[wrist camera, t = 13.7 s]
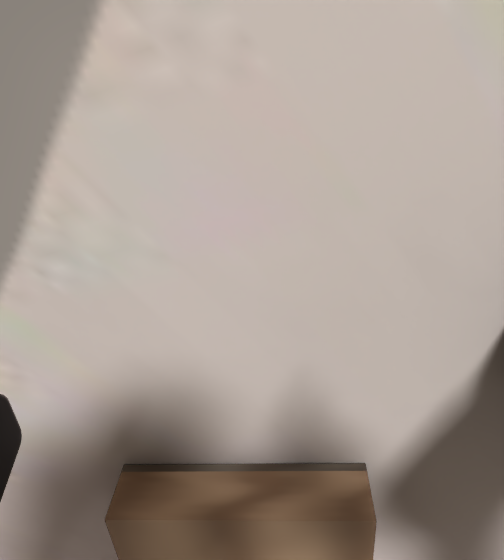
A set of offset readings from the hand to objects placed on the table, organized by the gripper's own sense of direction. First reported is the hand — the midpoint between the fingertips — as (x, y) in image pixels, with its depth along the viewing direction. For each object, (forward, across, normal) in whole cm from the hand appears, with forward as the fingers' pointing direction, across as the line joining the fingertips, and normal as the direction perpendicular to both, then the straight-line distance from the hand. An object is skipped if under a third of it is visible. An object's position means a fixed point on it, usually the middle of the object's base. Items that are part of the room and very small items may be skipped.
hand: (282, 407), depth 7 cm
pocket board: (+13, +3, +24) cm, 27 cm away
